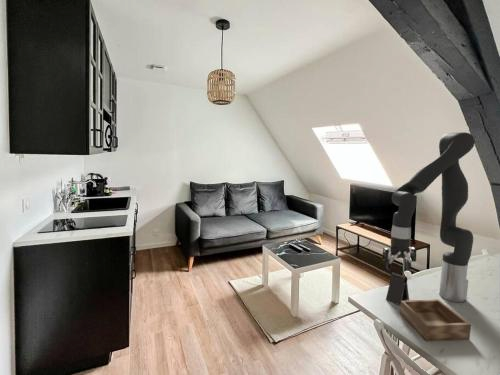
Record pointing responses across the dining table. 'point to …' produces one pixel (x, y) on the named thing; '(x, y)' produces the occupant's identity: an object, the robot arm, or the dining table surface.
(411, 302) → the walnut box
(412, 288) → the dining table surface
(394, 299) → the door stopper
